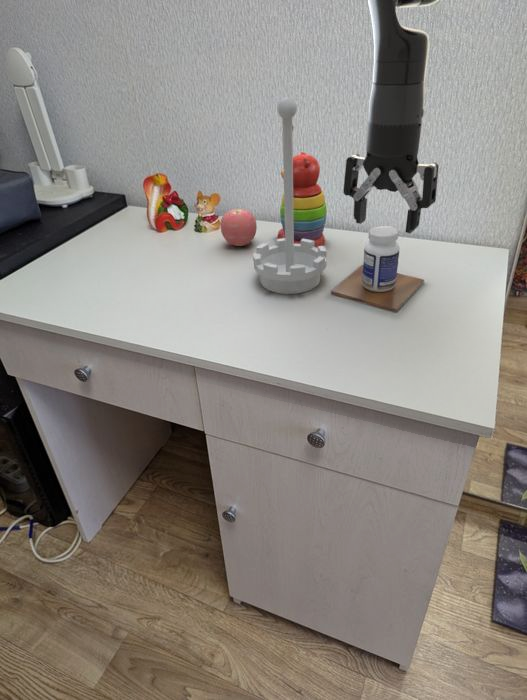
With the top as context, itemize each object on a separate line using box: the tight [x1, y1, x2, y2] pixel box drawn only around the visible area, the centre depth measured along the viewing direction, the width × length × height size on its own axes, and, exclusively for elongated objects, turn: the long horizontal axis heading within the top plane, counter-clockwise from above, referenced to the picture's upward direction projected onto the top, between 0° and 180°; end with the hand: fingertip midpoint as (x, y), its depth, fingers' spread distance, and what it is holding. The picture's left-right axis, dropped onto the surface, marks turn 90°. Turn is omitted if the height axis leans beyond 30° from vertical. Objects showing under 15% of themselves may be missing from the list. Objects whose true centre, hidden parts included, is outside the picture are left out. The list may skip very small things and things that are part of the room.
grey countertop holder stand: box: [252, 97, 328, 295], centre depth 82 cm, size 13×13×30 cm
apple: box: [219, 208, 258, 247], centre depth 102 cm, size 7×7×8 cm
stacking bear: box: [277, 151, 328, 248], centre depth 98 cm, size 11×10×18 cm
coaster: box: [330, 264, 425, 313], centre depth 86 cm, size 12×12×1 cm
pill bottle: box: [362, 225, 400, 292], centre depth 83 cm, size 6×6×10 cm
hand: (384, 226), depth 80 cm, fingers open, 8 cm apart
